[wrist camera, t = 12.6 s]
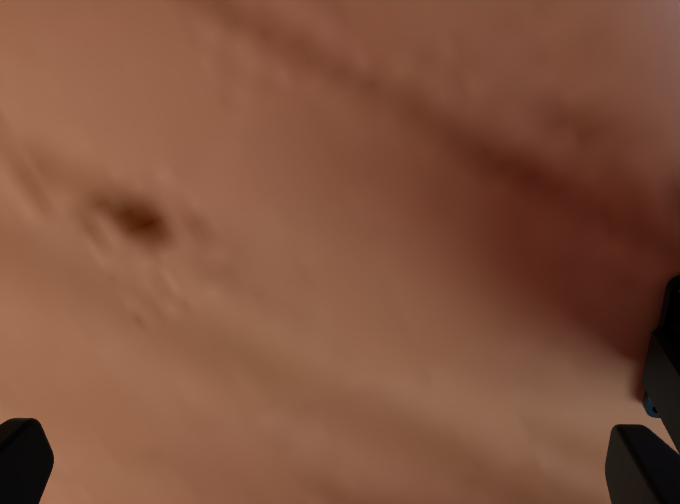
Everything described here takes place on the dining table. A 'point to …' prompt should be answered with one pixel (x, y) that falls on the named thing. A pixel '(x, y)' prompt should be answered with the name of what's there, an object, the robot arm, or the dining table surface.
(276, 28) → the dining table surface
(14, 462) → the robot arm
